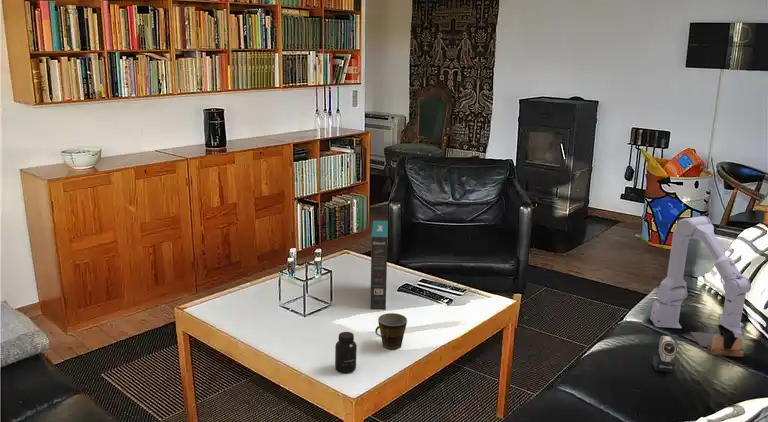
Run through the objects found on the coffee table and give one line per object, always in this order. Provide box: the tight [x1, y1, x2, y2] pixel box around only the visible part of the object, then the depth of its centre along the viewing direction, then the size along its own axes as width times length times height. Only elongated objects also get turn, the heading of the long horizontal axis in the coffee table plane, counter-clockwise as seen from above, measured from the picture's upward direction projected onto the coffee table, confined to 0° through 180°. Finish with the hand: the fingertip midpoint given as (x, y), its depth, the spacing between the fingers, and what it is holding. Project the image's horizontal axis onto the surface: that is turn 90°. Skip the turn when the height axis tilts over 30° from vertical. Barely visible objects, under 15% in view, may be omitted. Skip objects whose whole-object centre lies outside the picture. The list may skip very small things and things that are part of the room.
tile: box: [710, 335, 743, 352], centre depth 218 cm, size 9×2×6 cm, turn 83°
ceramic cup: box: [374, 312, 408, 351], centre depth 216 cm, size 13×10×10 cm
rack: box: [707, 344, 745, 358], centre depth 218 cm, size 10×5×2 cm, turn 83°
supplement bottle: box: [334, 331, 358, 375], centre depth 201 cm, size 7×7×12 cm
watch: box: [652, 335, 679, 373], centre depth 205 cm, size 6×8×11 cm
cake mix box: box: [370, 220, 389, 311], centre depth 254 cm, size 22×6×30 cm, turn 179°
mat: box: [689, 331, 744, 351], centre depth 227 cm, size 14×11×1 cm
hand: (726, 347), depth 218 cm, fingers closed on tile, 1 cm apart
